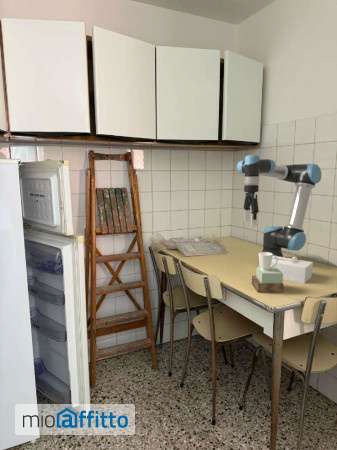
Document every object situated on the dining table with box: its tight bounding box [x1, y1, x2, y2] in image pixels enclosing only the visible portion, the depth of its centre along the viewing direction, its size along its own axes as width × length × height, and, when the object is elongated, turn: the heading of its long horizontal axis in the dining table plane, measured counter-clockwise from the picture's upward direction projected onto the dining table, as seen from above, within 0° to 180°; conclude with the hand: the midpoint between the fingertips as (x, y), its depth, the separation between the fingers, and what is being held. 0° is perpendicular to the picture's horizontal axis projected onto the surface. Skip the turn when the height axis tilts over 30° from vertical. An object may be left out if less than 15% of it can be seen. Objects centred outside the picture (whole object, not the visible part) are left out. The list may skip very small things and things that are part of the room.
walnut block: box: [251, 274, 284, 294], centre depth 154 cm, size 12×12×5 cm
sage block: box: [255, 266, 284, 284], centre depth 153 cm, size 10×10×5 cm
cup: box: [257, 251, 278, 271], centre depth 153 cm, size 7×10×8 cm
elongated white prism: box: [258, 256, 314, 284], centre depth 174 cm, size 14×25×11 cm, turn 51°
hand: (250, 223), depth 169 cm, fingers open, 13 cm apart
